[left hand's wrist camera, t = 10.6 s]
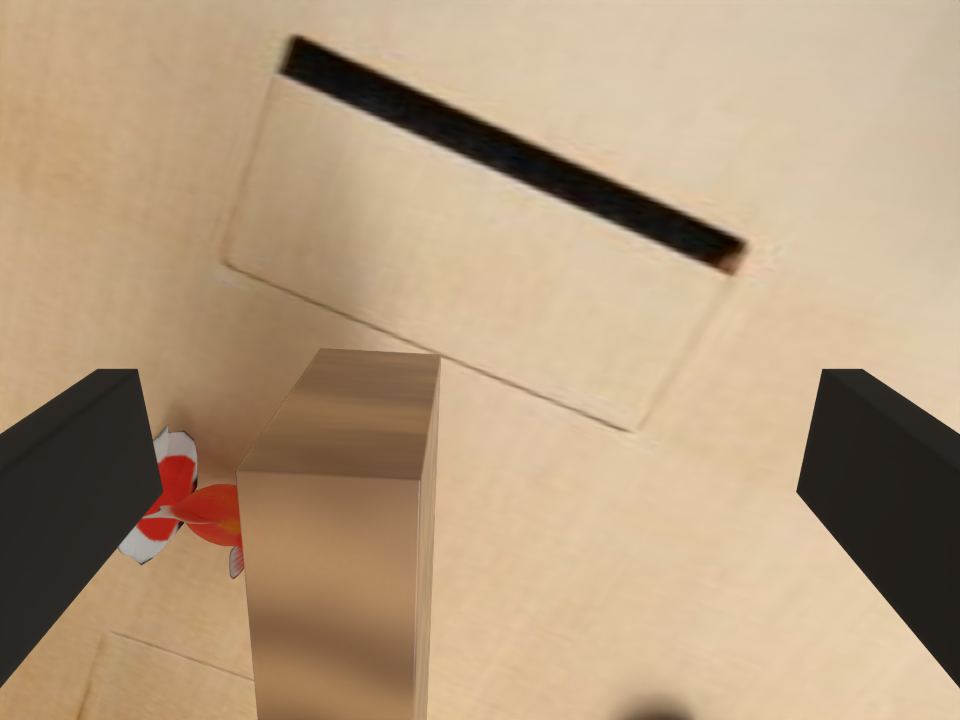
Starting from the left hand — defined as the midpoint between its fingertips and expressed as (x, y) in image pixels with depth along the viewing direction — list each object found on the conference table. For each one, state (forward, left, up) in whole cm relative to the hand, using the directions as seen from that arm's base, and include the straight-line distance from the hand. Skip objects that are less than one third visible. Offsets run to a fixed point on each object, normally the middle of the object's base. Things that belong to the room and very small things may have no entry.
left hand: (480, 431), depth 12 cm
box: (+14, +13, -19) cm, 27 cm away
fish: (+28, +7, -31) cm, 43 cm away
